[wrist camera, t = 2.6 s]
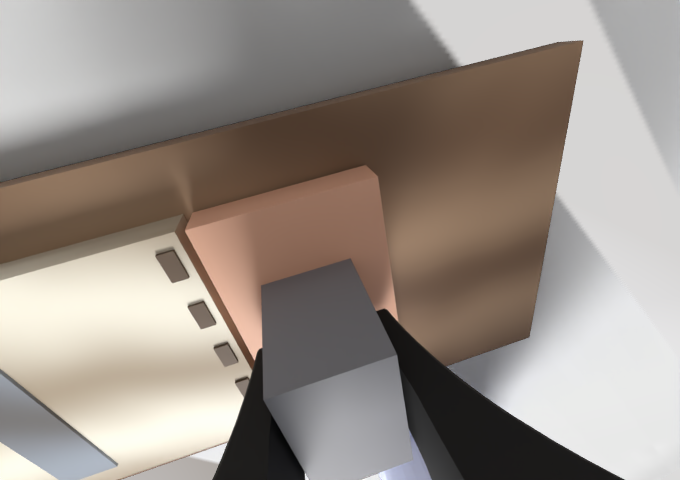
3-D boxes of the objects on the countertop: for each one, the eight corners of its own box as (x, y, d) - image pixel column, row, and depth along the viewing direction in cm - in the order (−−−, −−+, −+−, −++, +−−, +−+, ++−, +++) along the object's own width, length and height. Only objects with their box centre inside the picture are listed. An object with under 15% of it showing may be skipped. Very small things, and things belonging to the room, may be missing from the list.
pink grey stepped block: (396, 359, 15) (453, 480, 11) (285, 397, 15) (298, 540, 10) (365, 164, 10) (450, 243, 6) (192, 212, 10) (137, 340, 5)
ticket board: (516, 324, 18) (548, 355, 16) (66, 478, 16) (39, 537, 14) (557, 42, 11) (624, 37, 9) (-276, 252, 8) (-441, 309, 6)
